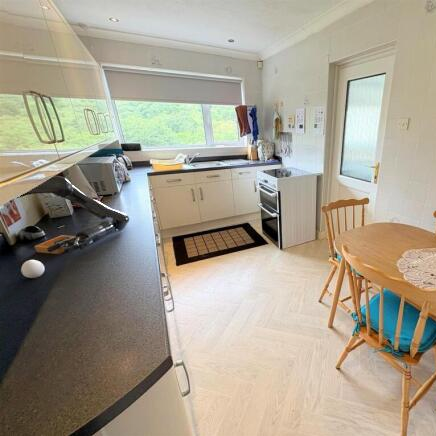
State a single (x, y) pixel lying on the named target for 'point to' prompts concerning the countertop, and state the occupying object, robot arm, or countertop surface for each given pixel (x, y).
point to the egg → (32, 269)
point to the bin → (45, 245)
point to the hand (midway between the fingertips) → (56, 250)
